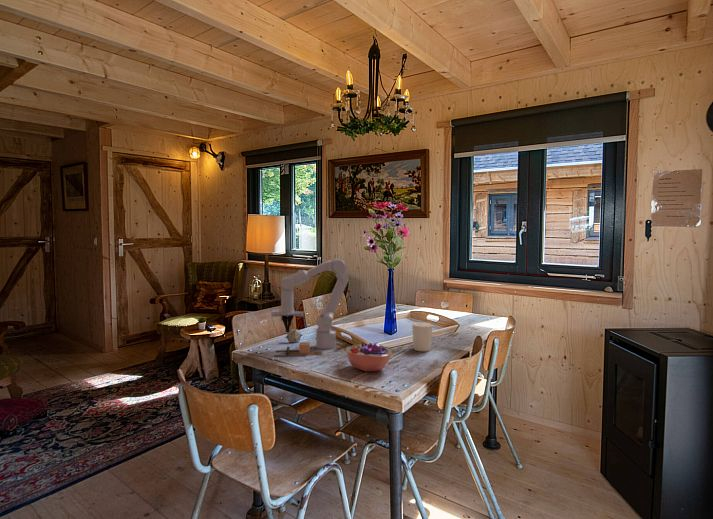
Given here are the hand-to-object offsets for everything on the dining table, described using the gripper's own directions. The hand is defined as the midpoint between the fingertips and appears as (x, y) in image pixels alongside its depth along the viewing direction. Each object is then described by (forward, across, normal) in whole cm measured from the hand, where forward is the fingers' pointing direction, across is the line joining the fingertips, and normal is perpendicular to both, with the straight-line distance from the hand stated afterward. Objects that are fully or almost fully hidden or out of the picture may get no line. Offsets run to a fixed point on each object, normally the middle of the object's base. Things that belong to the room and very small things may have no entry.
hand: (287, 331), depth 202 cm
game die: (+10, +2, +13) cm, 16 cm away
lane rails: (+9, +2, -8) cm, 13 cm away
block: (+8, +8, -8) cm, 14 cm away
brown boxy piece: (+9, +8, -8) cm, 15 cm away
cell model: (+10, +35, -29) cm, 46 cm away
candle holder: (+10, +64, -1) cm, 65 cm away
